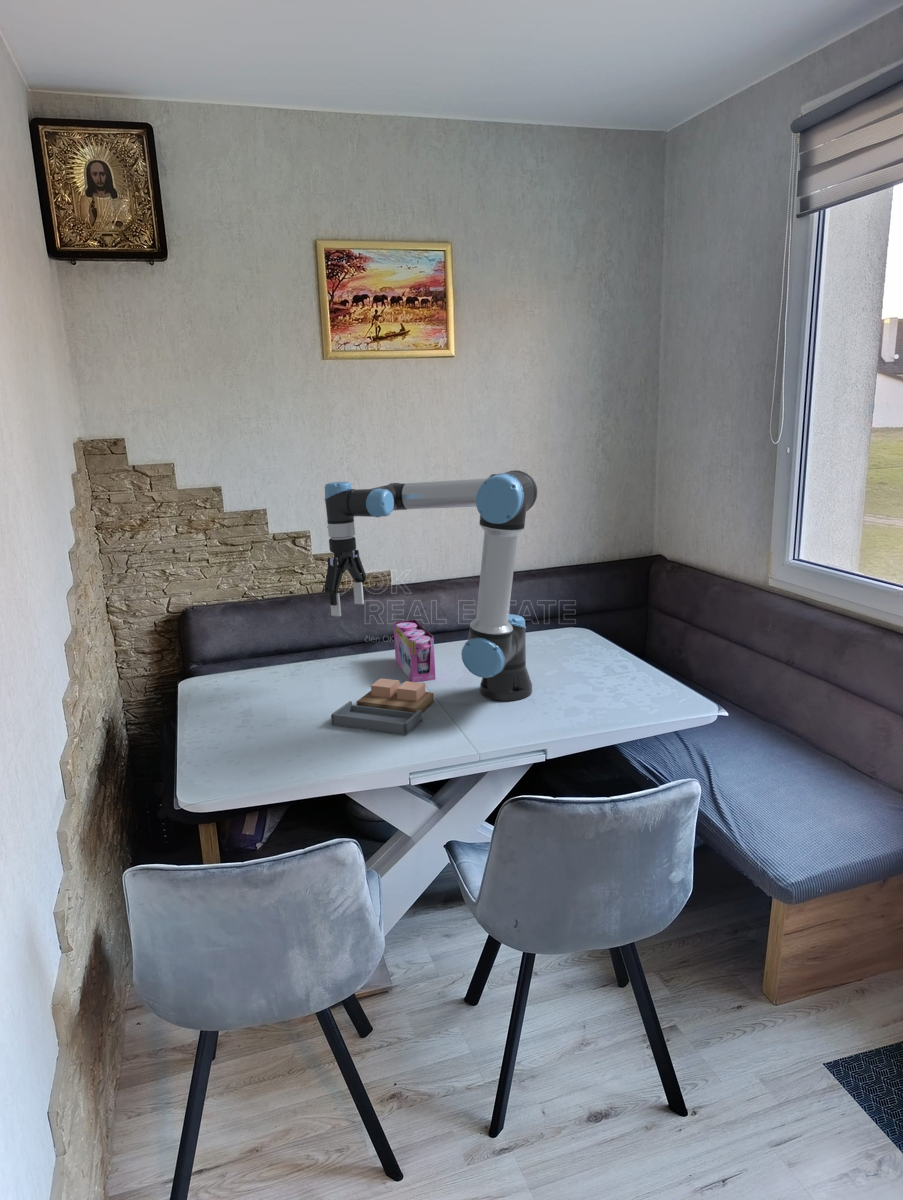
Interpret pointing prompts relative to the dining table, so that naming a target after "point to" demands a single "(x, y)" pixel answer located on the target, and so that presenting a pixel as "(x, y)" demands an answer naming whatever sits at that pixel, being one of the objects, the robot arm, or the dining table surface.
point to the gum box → (414, 650)
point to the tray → (376, 719)
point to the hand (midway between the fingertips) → (348, 609)
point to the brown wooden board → (397, 702)
